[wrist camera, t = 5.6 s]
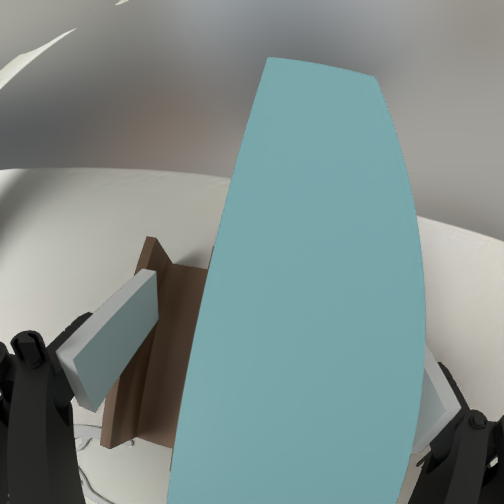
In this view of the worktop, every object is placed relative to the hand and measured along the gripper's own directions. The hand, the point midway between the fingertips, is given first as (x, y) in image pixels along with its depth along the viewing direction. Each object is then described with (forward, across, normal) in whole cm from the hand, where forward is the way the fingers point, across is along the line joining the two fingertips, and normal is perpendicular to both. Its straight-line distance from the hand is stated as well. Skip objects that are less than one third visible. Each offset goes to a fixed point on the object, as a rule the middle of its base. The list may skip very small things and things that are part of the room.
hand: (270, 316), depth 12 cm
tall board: (+5, 0, -9) cm, 10 cm away
